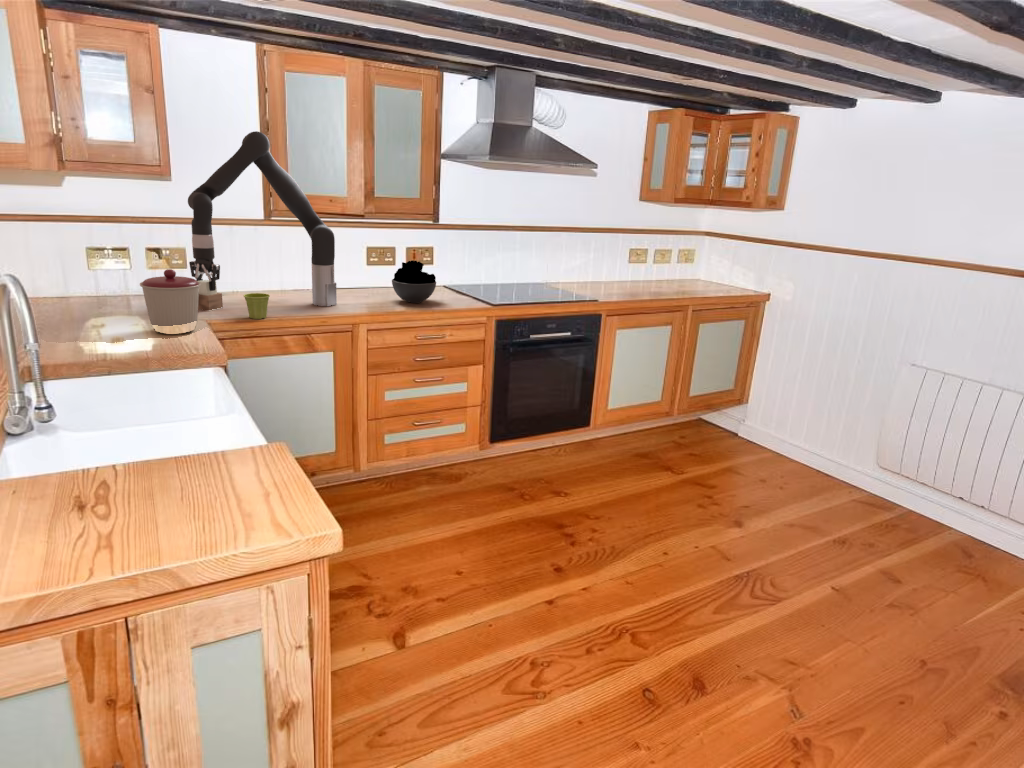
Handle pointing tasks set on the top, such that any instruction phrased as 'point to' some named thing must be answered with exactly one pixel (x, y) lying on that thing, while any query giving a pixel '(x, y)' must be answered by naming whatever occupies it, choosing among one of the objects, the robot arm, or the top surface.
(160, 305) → the canister
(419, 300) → the bowl of black rocks
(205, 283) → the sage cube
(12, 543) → the top surface
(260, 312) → the plant pot
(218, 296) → the walnut block
